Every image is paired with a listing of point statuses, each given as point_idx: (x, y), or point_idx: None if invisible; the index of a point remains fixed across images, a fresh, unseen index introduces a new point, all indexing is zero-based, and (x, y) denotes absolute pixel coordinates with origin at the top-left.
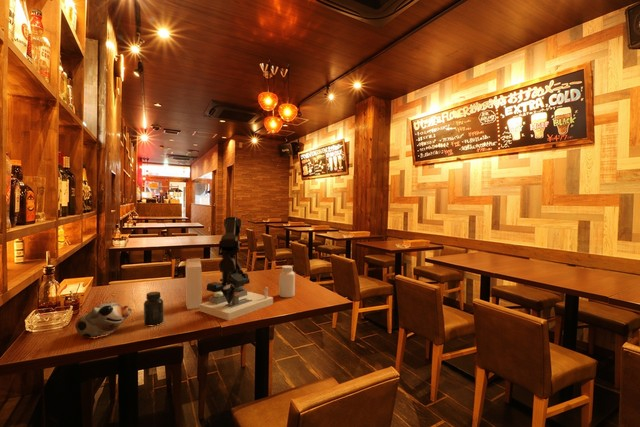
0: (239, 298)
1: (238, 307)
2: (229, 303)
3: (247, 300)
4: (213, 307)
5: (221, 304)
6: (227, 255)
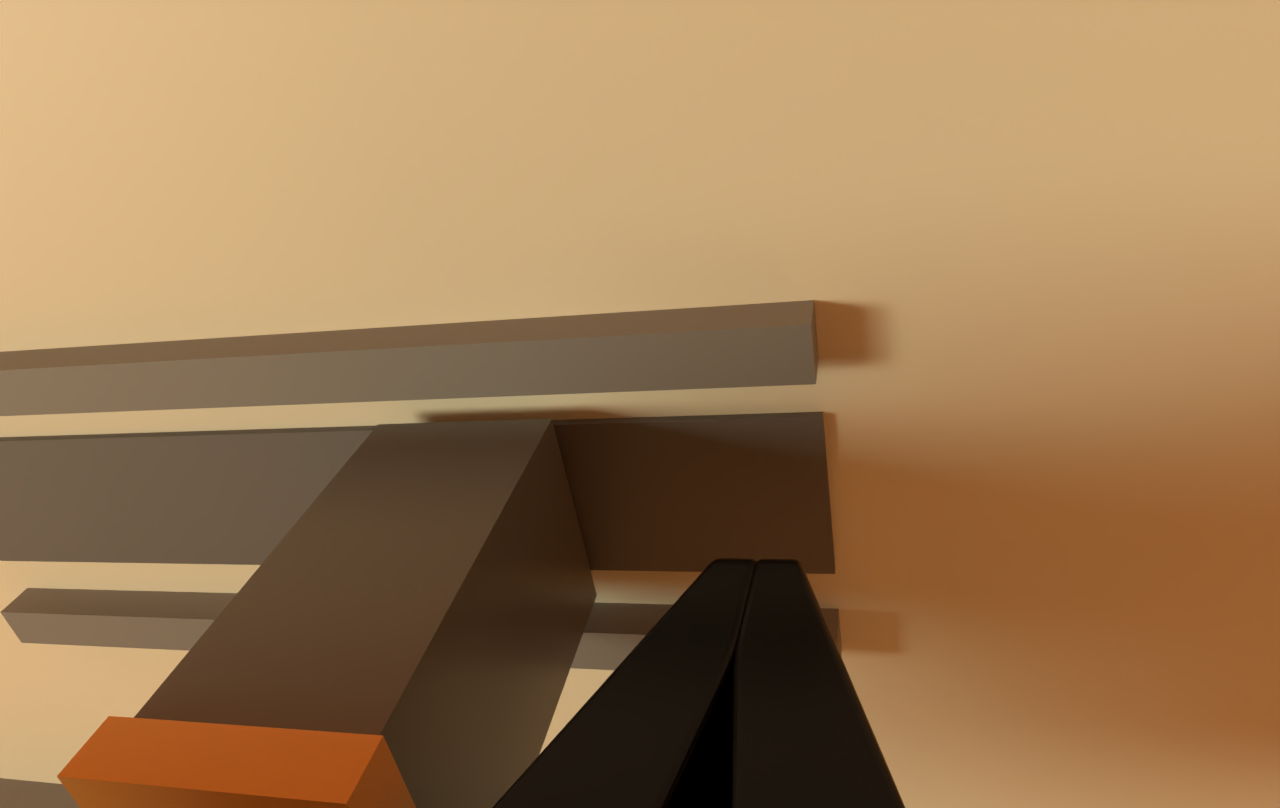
0: None
1: (570, 94)
2: None
3: (9, 482)
4: (1241, 792)
5: None
6: None
